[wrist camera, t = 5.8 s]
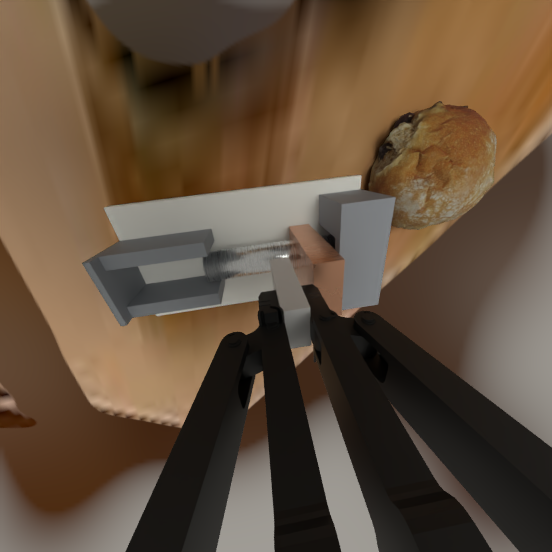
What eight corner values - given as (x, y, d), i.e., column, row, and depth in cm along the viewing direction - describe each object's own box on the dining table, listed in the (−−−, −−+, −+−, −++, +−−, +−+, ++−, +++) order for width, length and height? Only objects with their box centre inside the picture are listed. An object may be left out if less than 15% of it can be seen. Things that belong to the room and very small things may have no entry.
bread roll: (354, 216, 26) (393, 263, 21) (354, 126, 17) (418, 171, 13) (432, 181, 25) (491, 222, 20) (471, 68, 17) (587, 93, 12)
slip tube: (205, 238, 20) (178, 284, 12) (348, 218, 21) (407, 250, 13) (216, 277, 22) (199, 337, 14) (346, 258, 23) (395, 306, 15)
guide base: (110, 205, 19) (51, 223, 13) (356, 174, 20) (398, 178, 14) (159, 310, 24) (133, 353, 19) (348, 281, 26) (376, 314, 20)
